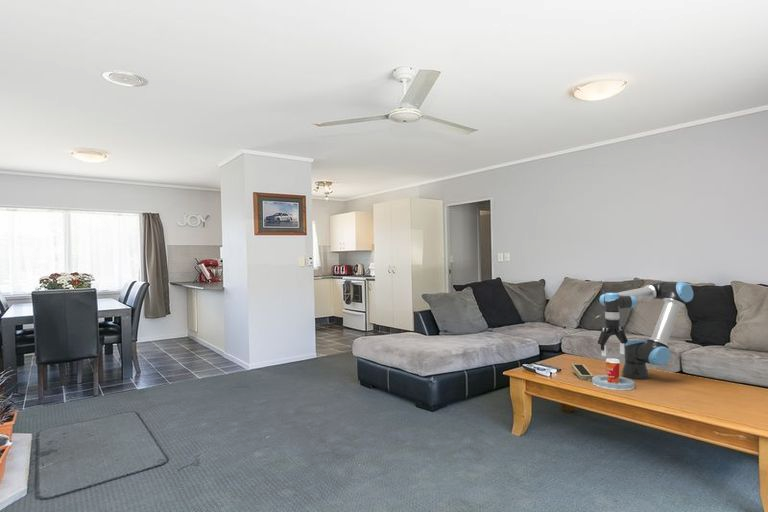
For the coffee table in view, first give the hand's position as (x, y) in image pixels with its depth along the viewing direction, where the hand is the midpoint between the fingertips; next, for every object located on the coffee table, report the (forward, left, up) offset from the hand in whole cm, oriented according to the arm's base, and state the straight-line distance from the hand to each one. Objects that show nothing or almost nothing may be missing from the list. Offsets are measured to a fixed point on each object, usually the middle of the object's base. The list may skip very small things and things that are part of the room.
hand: (613, 355), depth 257 cm
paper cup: (0, 0, -17) cm, 17 cm away
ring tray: (0, 0, -18) cm, 18 cm away
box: (+4, -20, -18) cm, 27 cm away
